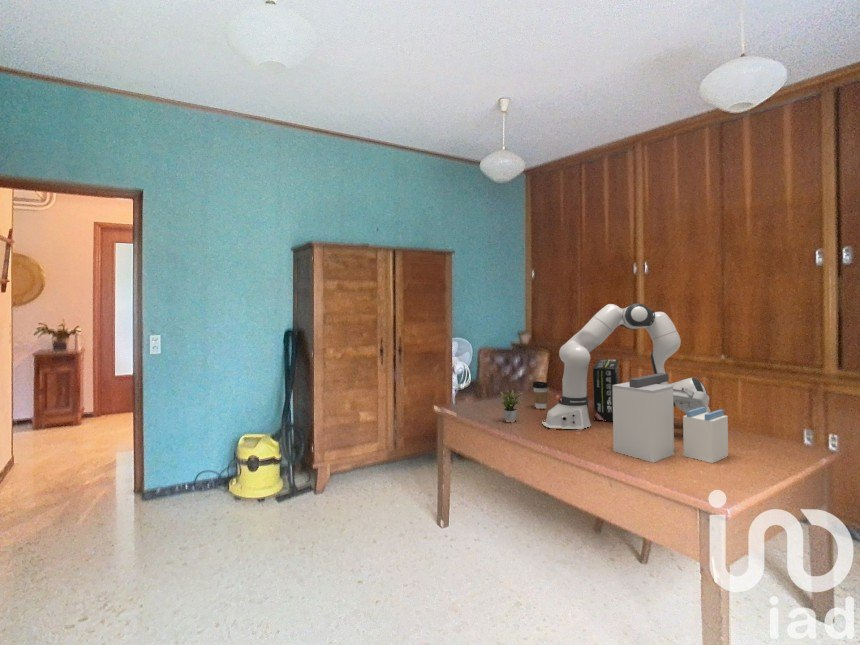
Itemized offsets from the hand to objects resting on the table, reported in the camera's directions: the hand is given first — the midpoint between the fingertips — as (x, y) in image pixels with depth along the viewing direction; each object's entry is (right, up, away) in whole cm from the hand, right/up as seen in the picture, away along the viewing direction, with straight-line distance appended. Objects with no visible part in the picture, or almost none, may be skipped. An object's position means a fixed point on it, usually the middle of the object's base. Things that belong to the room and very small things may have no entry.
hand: (671, 387), depth 183 cm
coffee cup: (-37, -22, +66) cm, 79 cm away
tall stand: (-17, -23, -11) cm, 31 cm away
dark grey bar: (-13, +3, -9) cm, 17 cm away
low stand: (+4, -23, -17) cm, 29 cm away
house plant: (-58, -23, +40) cm, 74 cm away
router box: (-6, -21, +51) cm, 56 cm away
